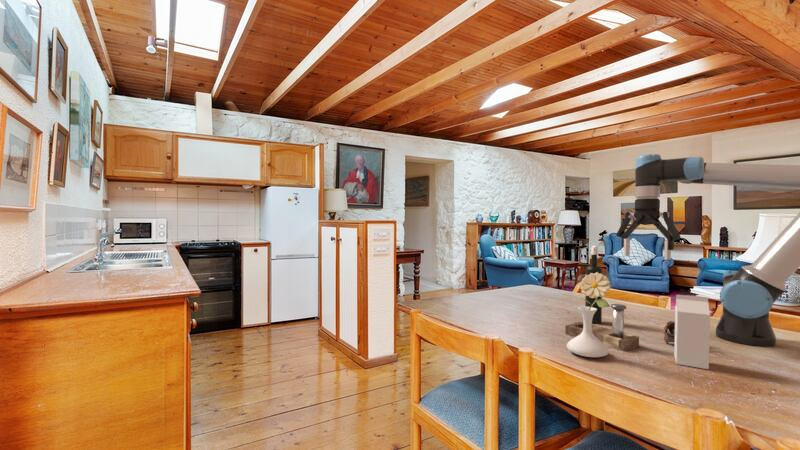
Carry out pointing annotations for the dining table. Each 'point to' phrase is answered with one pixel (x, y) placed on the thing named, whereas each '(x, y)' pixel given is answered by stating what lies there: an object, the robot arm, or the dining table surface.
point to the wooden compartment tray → (605, 336)
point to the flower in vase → (591, 317)
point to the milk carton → (692, 331)
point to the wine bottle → (598, 314)
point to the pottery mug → (670, 336)
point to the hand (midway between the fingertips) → (646, 257)
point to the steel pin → (618, 320)
